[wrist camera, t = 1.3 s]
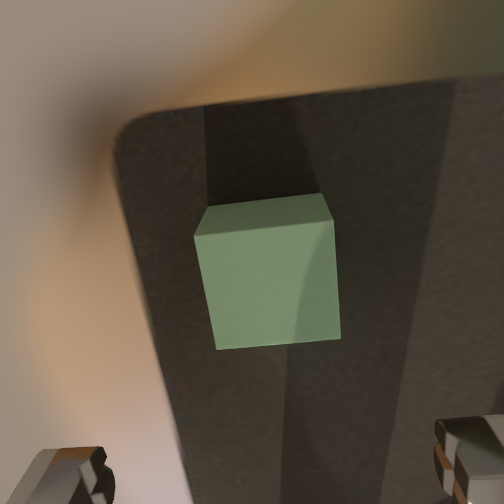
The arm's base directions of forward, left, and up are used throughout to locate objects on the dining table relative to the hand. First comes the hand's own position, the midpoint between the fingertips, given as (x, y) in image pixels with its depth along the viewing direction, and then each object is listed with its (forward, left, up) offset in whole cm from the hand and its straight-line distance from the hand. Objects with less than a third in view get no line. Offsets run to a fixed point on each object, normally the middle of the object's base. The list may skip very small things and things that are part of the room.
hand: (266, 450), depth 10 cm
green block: (0, 0, -12) cm, 12 cm away
